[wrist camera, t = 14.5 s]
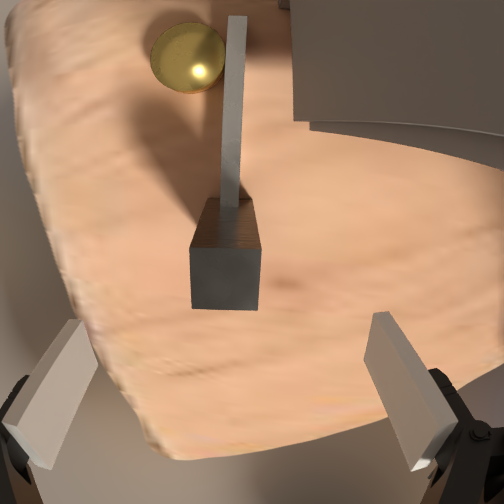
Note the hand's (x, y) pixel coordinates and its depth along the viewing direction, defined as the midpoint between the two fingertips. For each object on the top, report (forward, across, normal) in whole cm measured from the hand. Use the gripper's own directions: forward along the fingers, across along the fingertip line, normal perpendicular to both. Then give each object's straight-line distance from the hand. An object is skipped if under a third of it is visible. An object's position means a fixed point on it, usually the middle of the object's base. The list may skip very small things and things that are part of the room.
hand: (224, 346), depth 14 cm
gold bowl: (+18, +3, -15) cm, 23 cm away
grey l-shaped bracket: (+18, 0, -8) cm, 19 cm away
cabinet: (+18, -18, -19) cm, 32 cm away
